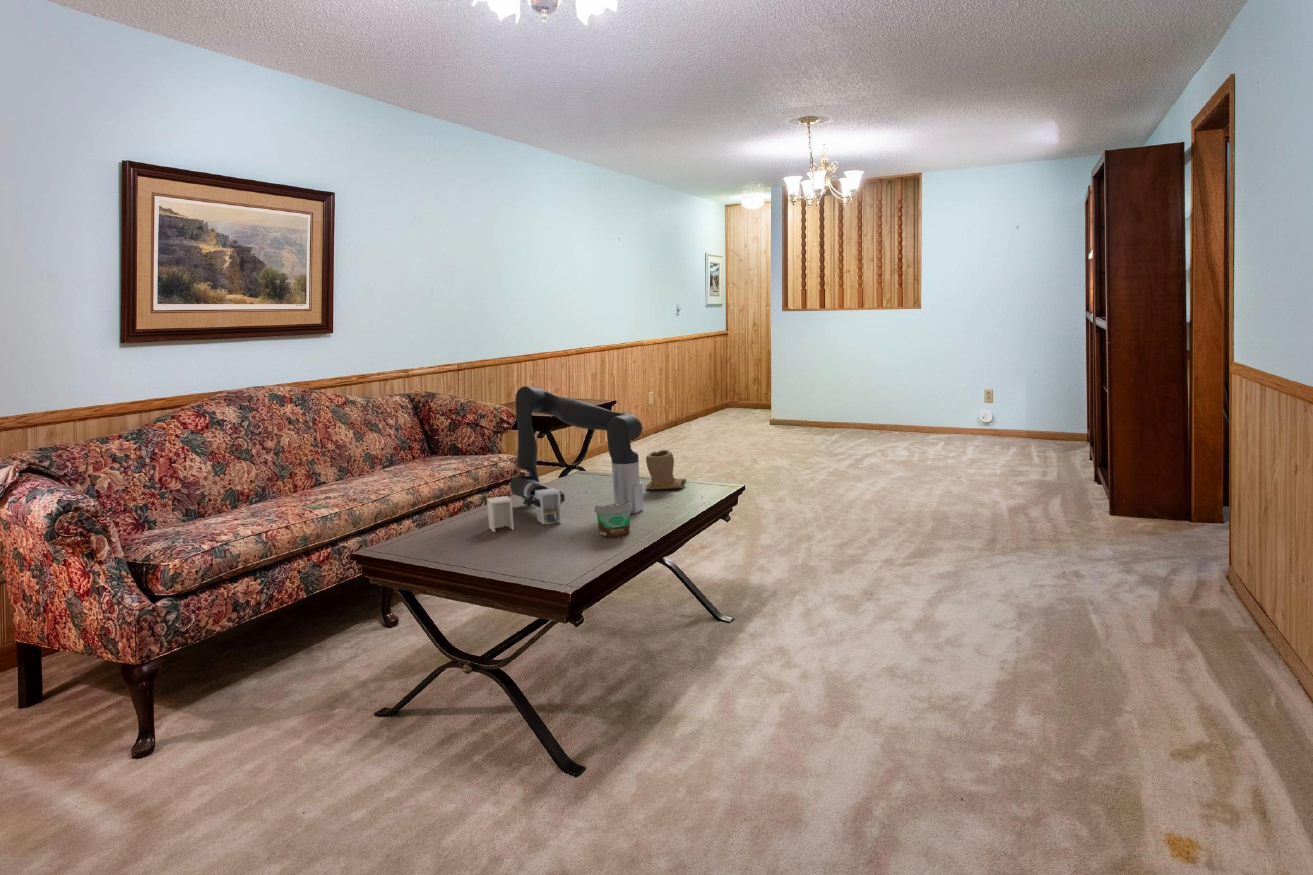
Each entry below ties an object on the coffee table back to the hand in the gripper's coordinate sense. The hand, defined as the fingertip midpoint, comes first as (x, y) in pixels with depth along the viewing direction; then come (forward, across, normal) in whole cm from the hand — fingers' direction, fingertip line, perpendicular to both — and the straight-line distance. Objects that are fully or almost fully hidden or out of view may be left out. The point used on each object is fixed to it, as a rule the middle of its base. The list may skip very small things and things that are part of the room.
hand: (550, 502), depth 278 cm
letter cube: (-2, 0, +7) cm, 8 cm away
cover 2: (-2, 0, +6) cm, 7 cm away
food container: (+27, +14, +8) cm, 31 cm away
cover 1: (-2, -16, +7) cm, 18 cm away
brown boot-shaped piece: (-28, +53, +8) cm, 61 cm away
